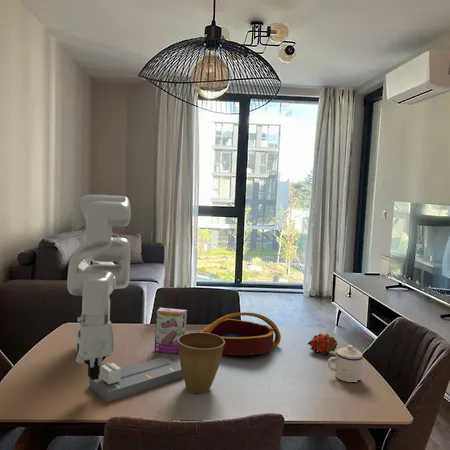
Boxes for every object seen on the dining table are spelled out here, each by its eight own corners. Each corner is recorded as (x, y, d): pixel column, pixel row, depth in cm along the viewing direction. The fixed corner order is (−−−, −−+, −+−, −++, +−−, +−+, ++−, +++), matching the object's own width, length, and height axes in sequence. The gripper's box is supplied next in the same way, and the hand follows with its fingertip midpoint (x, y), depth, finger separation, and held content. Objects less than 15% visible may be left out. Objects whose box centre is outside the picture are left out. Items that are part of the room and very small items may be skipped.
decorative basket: (265, 339, 192) (265, 305, 193) (296, 354, 164) (295, 315, 165) (192, 345, 181) (191, 309, 182) (211, 363, 154) (211, 321, 154)
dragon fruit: (339, 358, 172) (308, 360, 173) (334, 340, 178) (305, 342, 179) (340, 346, 166) (309, 348, 167) (336, 328, 173) (306, 330, 174)
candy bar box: (153, 352, 164) (155, 310, 162) (157, 347, 169) (158, 307, 167) (182, 355, 163) (184, 313, 161) (185, 350, 168) (187, 309, 166)
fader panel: (89, 386, 134) (89, 377, 134) (163, 365, 153) (164, 356, 153) (107, 402, 125) (108, 392, 125) (184, 377, 144) (184, 368, 144)
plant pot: (204, 404, 127) (207, 352, 126) (165, 390, 135) (167, 340, 133) (230, 386, 140) (233, 338, 138) (193, 373, 147) (196, 328, 146)
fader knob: (100, 378, 133) (101, 364, 132) (112, 374, 135) (112, 361, 135) (108, 384, 129) (109, 370, 129) (120, 380, 132) (121, 367, 131)
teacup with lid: (355, 372, 156) (358, 341, 155) (364, 384, 147) (367, 351, 146) (323, 371, 155) (325, 340, 154) (330, 383, 146) (332, 350, 145)
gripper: (76, 326, 119) (74, 390, 120) (124, 317, 129) (122, 376, 131) (65, 319, 124) (63, 380, 126) (112, 311, 134) (110, 367, 136)
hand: (93, 377), depth 128 cm, fingers closed
